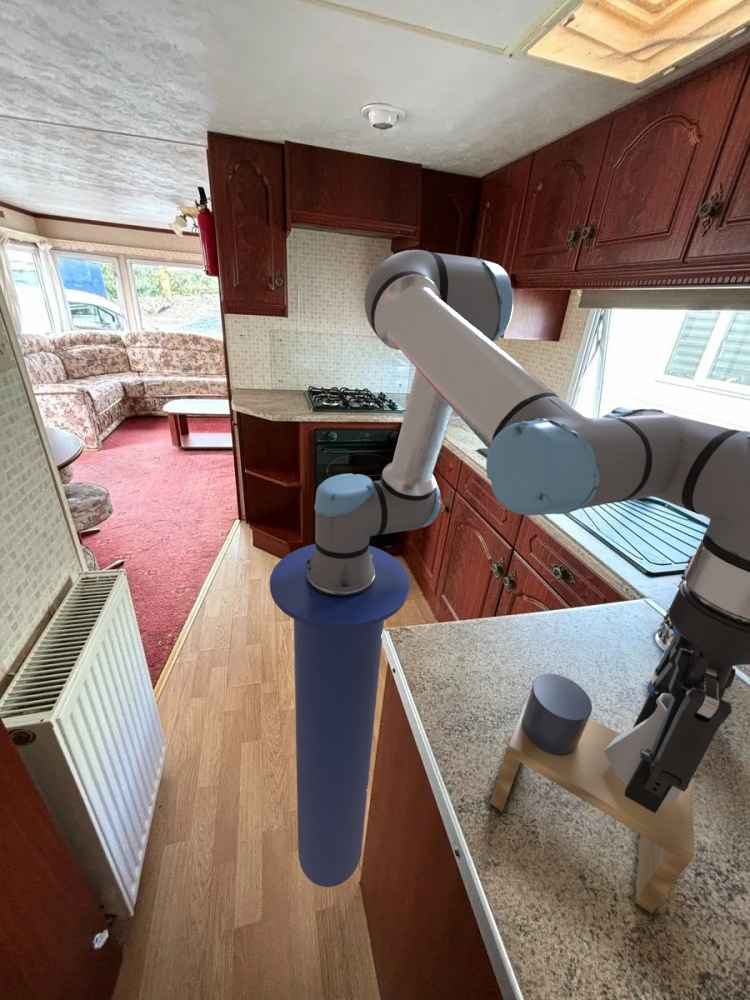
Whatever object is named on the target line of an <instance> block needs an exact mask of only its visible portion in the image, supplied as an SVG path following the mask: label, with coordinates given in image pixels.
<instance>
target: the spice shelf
mask: <svg viewBox="0 0 750 1000" xmlns="http://www.w3.org/2000/svg"><path fill="white" fill-rule="evenodd" d="M530 692H531V689H530V690H529V693H528V695H527V698H526V700H525V703H524V705H523V707H522V709H521V712H520V714H519V717H518V720H517V722H516V725H515V726H514V727H515V728H514V730H513V731H512V732H513V733H512V735H511V738H510V740H509V742H508V745H507V748H506V750H505V755H504V758H503V761H502V764H501V767H500V770H499V774H498V777H497V780H496V783H495V786H494V790H493V793H492V796H491V799H490V804H491V806H493V807H494V808H496V809H498V810H499V811H500V812H503V811H504V808H505V805H506V803H507V800H508V798H509V797H508V796H509V794H510V793H511V792H510V791H511V788H512V786H513V783H514V780H515V777H516V776H517V775H516V774H517V773H518V769H519V766H520V764H523V765H525V766H526V767H528V768H529V769H531V770H533V771H534V772H536V773H538V774H539V775H540V776H542V777H544V778H546V779H547V780H549V781H551V782H553V783H555V784H556V785H558V786H559V787H561V788H562V789H565V790H566V791H567V792H569V793H571V794H572V795H574V796H575V797H576V798H579V799H580V800H583V801H584V802H586V804H589V805H590V806H592V807H593V808H595V809H597V810H599V811H600V812H602V813H604V814H605V815H607V816H609V817H610V818H612V819H613V820H616V821H617V822H618V823H620V824H622V825H623V826H626V827H627V828H629V829H630V830H632V831H634V832H635V833H636V834H638V835H639V841H638V854H637V855H638V856H637V857H638V858H637V872H636V885H635V886H636V888H635V902H634V903H636V904H637V905H638V906H640V907H641V908H643V909H644V910H646V911H647V912H649V913H650V914H654V912H655V911H656V910H657V908H658V907H659V905H660V904H661V903H662V901H663V900H664V899H665V896H666V895H668V893H669V892H670V890H671V889H672V887H674V885H675V883H676V882H677V880H678V879H679V878H680V876H681V875H682V874H683V872H684V871H685V870H686V868H687V866H688V865H689V864H690V862H691V861H692V860H693V858H694V857H695V855H696V854H695V834H694V833H695V832H694V812H693V811H694V809H693V790H692V789H693V788H692V780H691V781H690V783H689V785H688V788H686V790H685V791H684V792H683V791H681V793H680V795H679V796H678V798H677V799H676V801H675V803H663V802H662V804H661V805H660V807H659V808H658V810H657V812H656V813H653V812H652V811H650V810H648V809H647V808H645V807H643V806H641V805H640V804H638V803H636V802H634V801H633V800H631V799H629V798H627V797H626V796H625V789H626V787H627V785H626V784H625V783H624V782H623V781H622V780H620V779H619V778H618V777H617V775H616V773H615V771H614V769H613V767H612V765H611V763H610V761H609V760H608V758H607V756H606V754H605V752H604V750H605V749H606V748H607V747H608V745H609V744H610V743H611V742H612V741H613V740H614V739H615V738H616V737H617V736H619V735H620V734H621V733H620V732H618V731H616V730H614V729H611V728H610V727H608V726H606V725H604V724H602V723H600V722H598V721H596V720H594V719H592V718H590V717H589V719H588V721H587V724H586V726H585V729H584V731H583V733H582V736H581V738H580V741H579V743H578V745H577V748H576V749H575V751H574V752H573V753H571V754H569V755H566V756H557V755H552V754H549V753H547V752H545V751H543V750H541V749H540V748H538V747H537V746H536V745H535V744H534V743H533V742H532V741H531V740H530V739H529V738H528V736H527V735H526V733H525V731H524V729H523V725H522V717H523V714H524V711H525V708H526V705H527V702H528V698H529V695H530Z"/></svg>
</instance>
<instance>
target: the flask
mask: <svg viewBox="0 0 750 1000" xmlns="http://www.w3.org/2000/svg"><path fill="white" fill-rule="evenodd" d="M671 698H672V694H668V693H662V694H661V695H660V696H659V698H658V699H657V700H656V703H657V705H658V706H657V708H656V710H655V712H654V713H653V714H652V715H651V716H650V717H649V718H648V719H647V720H645V721H643V722H642V723H640V724H638V725H637V726H635V727H634V728H633V727H632V728H630V729H628V730H626V731H625V732H622V733H620V735H619V736H617V737H616V738H615V739H614V740H613V741H612V742H611V743H610V744H609V745H608V747H607V748H606V749H605V750H604V752H605V754H606V756H607V758H608V760H609V761H610V763H611V765H612V767H613V769H614V771H615V773H616V775H617V777H618V778H619V779H620V780H622V781H623V782H624V783H625V784H626V785H628V784H629V782H630V780H631V778H632V776H633V774H634V773H635V771H636V769H637V767H638V765H639V763H640V761H641V760H642V758H640V751H641V748H642V749H644V750H647V749H649V750H652V748H653V745H654V743H655V740H656V737H657V735H658V732H659V730H660V727H661V724H662V722H663V719H664V717H665V714H666V711H667V709H668V706H669V704H670V701H671ZM680 793H681V790H680V789H678V788H676V787H674V786H672V787H671V789H670V791H669V792H668V794H667V796H666V797H665V799H664V800H663V803H675V801H676V799H677V798H678V796H679V795H680Z"/></svg>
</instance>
